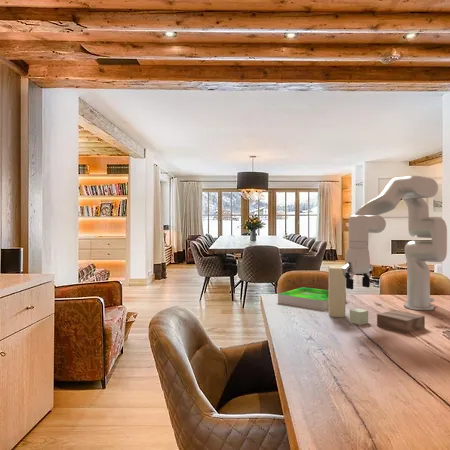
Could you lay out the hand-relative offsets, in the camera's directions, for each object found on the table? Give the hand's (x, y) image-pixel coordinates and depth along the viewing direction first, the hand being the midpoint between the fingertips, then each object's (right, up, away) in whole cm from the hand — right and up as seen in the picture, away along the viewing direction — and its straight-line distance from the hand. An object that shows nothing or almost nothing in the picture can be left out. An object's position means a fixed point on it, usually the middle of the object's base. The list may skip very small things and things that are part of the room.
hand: (357, 287), depth 149 cm
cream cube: (+1, -14, 0) cm, 14 cm away
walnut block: (+14, -14, -7) cm, 21 cm away
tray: (-9, -15, +39) cm, 42 cm away
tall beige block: (-4, -14, +13) cm, 19 cm away
